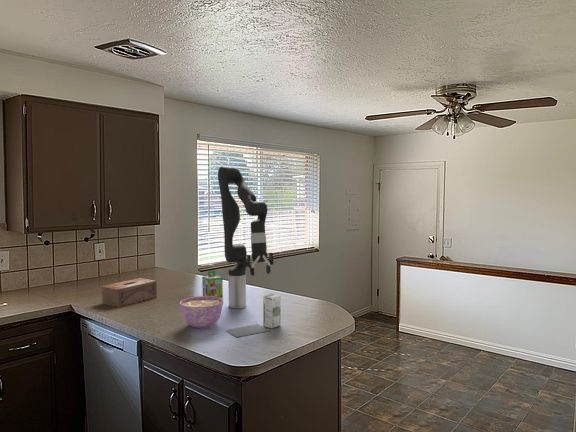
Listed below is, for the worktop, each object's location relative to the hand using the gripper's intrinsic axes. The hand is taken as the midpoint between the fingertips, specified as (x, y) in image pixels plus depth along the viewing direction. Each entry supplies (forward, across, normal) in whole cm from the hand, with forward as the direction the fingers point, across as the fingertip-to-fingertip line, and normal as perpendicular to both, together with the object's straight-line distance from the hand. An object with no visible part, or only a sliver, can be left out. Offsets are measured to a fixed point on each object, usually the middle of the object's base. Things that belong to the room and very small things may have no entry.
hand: (260, 274), depth 224 cm
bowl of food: (+21, +31, -2) cm, 37 cm away
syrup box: (+22, +4, +16) cm, 28 cm away
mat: (+22, +16, +16) cm, 32 cm away
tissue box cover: (+15, +49, -69) cm, 86 cm away
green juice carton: (+16, +6, -52) cm, 55 cm away
